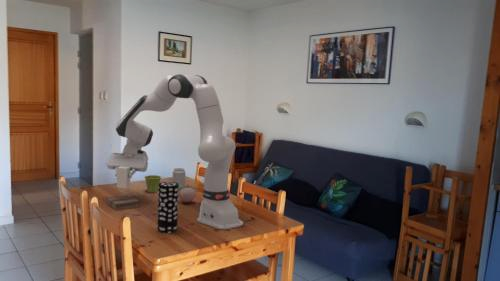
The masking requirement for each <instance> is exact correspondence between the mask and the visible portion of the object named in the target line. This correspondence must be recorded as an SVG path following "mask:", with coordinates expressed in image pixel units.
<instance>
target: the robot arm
mask: <svg viewBox="0 0 500 281" xmlns="http://www.w3.org/2000/svg"><path fill="white" fill-rule="evenodd" d="M177 98H179V99H192V100H193V101H194V105H195V109H196V114H197V120H198V122H199V128H200V129H199V132H200V133H199V134H200V135H199V136H200V138H199V139H200V140H199V141H200V142H199V145H198V149H197V152H198V157H199V158H200V159H201V161H203V162H205V163H207V162H208V163H207V166H206V169H205V171H204V177H203V178H204V182H203V189H202V197H203V198H202V201H201V203H200V207H199V208H200V209H199V215H198V217H197V218H196V222H199V223H200V224H203V225H206V226H209V227H212V228H215V229H218V230H229V229H235V228H239V227H242V226H243V225H244V222H243V221H242V220H241V219H240V218H239V211H238V208H237V207H236V206H235V205H234V204H233V202H232V201H231V199H230V196H231V193H230V191H229V187H228V186H229V174H230V167H231V165H232V164H231V163H232V160H233V155H234V153H235V152H236V151H235V150H236V142H235V140H234V139H233V138H232V137H230V136H227V135H223V125H224V116H223V113H222V109H221V104H220V101H219V96H218V94H217V92H216V90H215V88H214V86H213V85H212V84H209V83H208V81H207V80H206V78H204V77H203V76H202V75H197V74H196V75H195V74H189V73H188V74H187V73H186V74H179V73H178V74H175V75H174V74H168V75H165V76H163V78H162V79H161V81H160V82H159V83H158V84H157V86H156V87H155V89H154V90H153V92H151V93H150V94H146V95H142V97H140V98H139V99H138V100H137V101H136V103H135V104H134V105H133V106H132V107H131V108H130V110H128V111H127V113H126V114H125V115H123V117H122V118H121V119H119V120H118V122H117V123H116V126H115V130H116V134H117V135H118V136H120V137H123V138H125V139H126V143H125V145H124V147H123V150H122V152H114V153H112V154H110V156H109V158H108V160H107V163H106V167H107V168H108V169H109V170H115V174H114V175H115V177H116V178H117V168H118V167H120V166H122V167H130V168H131V173H128V178H130V179H132V177H133V175H135V173H137V172H142V173H144V172H146V171H147V170H148V167H149V157H148V154H147V152H146V151H145V150H142V148H143V147H144V148H145V147H146V146H148V145H150V143H151V142H152V139H153V136H154V132H153V130H152V128H150V126H147V125H145V124H142V123H140V122H138V121H136V120H135V118H136V117H137V116H138V115H139V114H140V113H141V112H143V111H150V112H151V111H152V112H157V113H162V112H167V111H168V110H170V109H171V108H172V106H173V105H174V104H175V102H176V101H177Z"/></svg>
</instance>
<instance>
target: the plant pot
mask: <svg viewBox="0 0 500 281" xmlns="http://www.w3.org/2000/svg"><path fill="white" fill-rule="evenodd" d="M144 179H145V183H146V190H147V193H150V194H151V193H153V194H154V193H158V187H159V183H161V182H160V181H161V180H162V176H161V175H155V174H154V175H153V174H150V175H146V176H144Z"/></svg>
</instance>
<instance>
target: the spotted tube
mask: <svg viewBox="0 0 500 281" xmlns="http://www.w3.org/2000/svg"><path fill="white" fill-rule="evenodd" d="M178 188H179V184H178V183H175V182H172V181H161V182H160V183H159V187H158V192H157V193H158V194H157V196H158V197H157V222H156V223H157V224H156V225H157V229H156V230H157V232H159V233H161V234H162V233H163V234H170V233H171V234H173V233H175V232H177V230H178V217H179V215H178V211H179V195H178V193H179V189H178Z"/></svg>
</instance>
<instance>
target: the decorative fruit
mask: <svg viewBox="0 0 500 281" xmlns="http://www.w3.org/2000/svg"><path fill="white" fill-rule="evenodd" d="M180 188H181V189H180ZM180 188H179V189H178V199H180V200H181V201H182V202H184V203H185V204H188V203H190V202H192V201H194V199H195V198H196V196H197V192H196V190H197V188H196V187H195V186H189V184H187V186H186V185H185V186H182V187H180Z"/></svg>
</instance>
